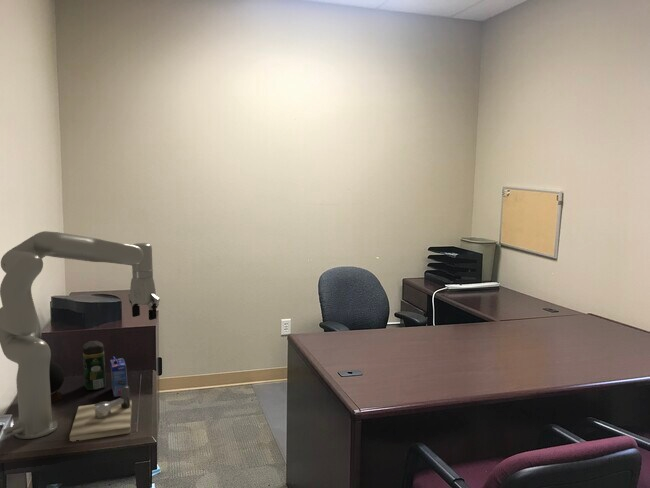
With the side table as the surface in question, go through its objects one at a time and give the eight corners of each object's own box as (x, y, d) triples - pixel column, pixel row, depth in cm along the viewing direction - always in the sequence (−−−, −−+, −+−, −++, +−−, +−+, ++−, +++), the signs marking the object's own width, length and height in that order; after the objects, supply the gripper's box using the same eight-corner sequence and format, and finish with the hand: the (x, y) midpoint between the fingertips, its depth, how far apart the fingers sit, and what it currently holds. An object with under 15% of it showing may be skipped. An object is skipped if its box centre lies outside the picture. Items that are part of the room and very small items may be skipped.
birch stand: (130, 433, 170) (130, 426, 170) (69, 441, 164) (69, 435, 164) (131, 404, 193) (131, 399, 192) (78, 411, 187) (78, 405, 187)
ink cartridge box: (110, 388, 209) (109, 353, 207) (125, 386, 211) (124, 351, 210) (113, 397, 200) (111, 361, 198) (128, 394, 202) (126, 358, 201)
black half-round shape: (22, 399, 198) (20, 361, 197) (60, 390, 207) (57, 354, 206) (31, 409, 189) (28, 370, 187) (69, 400, 197) (67, 362, 196)
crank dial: (100, 419, 175) (99, 399, 174) (92, 416, 178) (91, 396, 177) (133, 406, 186) (132, 387, 185) (124, 403, 188) (123, 384, 188)
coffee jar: (83, 384, 213) (81, 340, 211) (104, 381, 217) (102, 338, 215) (85, 392, 205) (83, 347, 203) (107, 388, 208) (104, 344, 207)
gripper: (120, 274, 203) (122, 317, 205) (149, 278, 194) (151, 322, 196) (136, 271, 209) (137, 313, 211) (165, 275, 200) (166, 318, 202)
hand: (144, 317), depth 203 cm, fingers open, 9 cm apart
